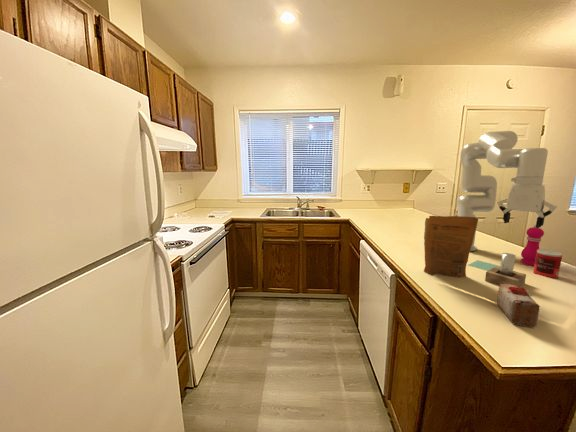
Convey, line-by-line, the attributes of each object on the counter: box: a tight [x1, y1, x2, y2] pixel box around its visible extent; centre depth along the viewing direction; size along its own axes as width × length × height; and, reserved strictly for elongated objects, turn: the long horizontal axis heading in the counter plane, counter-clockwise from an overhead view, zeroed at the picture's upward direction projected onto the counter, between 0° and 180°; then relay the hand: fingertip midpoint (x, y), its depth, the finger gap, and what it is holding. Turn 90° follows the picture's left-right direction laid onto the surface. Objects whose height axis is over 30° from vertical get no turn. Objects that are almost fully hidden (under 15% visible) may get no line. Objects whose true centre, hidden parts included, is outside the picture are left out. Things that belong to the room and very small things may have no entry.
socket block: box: [484, 266, 527, 288], centre depth 102 cm, size 10×10×5 cm
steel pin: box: [499, 252, 516, 277], centre depth 101 cm, size 4×4×12 cm
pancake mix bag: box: [423, 215, 479, 278], centre depth 109 cm, size 7×19×28 cm, turn 61°
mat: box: [467, 259, 501, 272], centre depth 118 cm, size 11×11×1 cm
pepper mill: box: [520, 223, 545, 267], centre depth 120 cm, size 7×7×20 cm
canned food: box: [532, 248, 563, 280], centre depth 108 cm, size 8×8×11 cm
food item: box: [497, 284, 541, 329], centre depth 81 cm, size 14×8×10 cm, turn 158°
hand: (521, 224), depth 98 cm, fingers open, 9 cm apart
